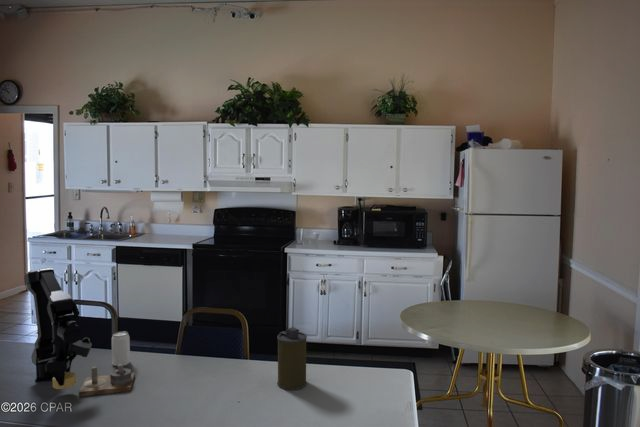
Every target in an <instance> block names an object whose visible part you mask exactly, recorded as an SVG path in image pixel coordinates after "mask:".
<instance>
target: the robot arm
mask: <svg viewBox="0 0 640 427" xmlns="http://www.w3.org/2000/svg"><path fill="white" fill-rule="evenodd" d="M57 279H58V278H56V274H55V270H54V268H51V267H50V268H49V267H47V268H41V269H37V270H30V271H28V272H27V273H26V274H25V275H24V284H25V285H26V287H27V288H26V289H27V290H28V292H30V293H31V294H32V295H33V300H34V310H35V316H36V325H37V332H38V336H37V338H36V340H35V342H34V348H33V351H32V353H31V357H30V358H31V363H32V364H33V365H34V366H35V373H36V378H35V379H34V382H42V381H43V382H45V381H46V382H47V381H53V380H52V379H53V377H54V378H55V379H56V381H57V382H58V384H59V385H60V386H63V385H64V380H65V372H71V368H72V363H73V360H75V358H76V357H77V356H81V357H83V358H87V357H88V355H89V354H90V352H91V349H92V346H93V344H92V342H91V339H90V337H84V338H83V339H82V336H83V334H84V332H83V330H82V328H81V327H80V326H79V325H77V323H76V320H79V319H80V311H79V308H78V305H77V302H76V301H75V300H74V299H73V298H72V296H71V295H70V294H69V293H67V292H64V291H63V289H62V287H61V285H60V283H59V282H58V280H57ZM81 339H82V340H81Z"/></svg>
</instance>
